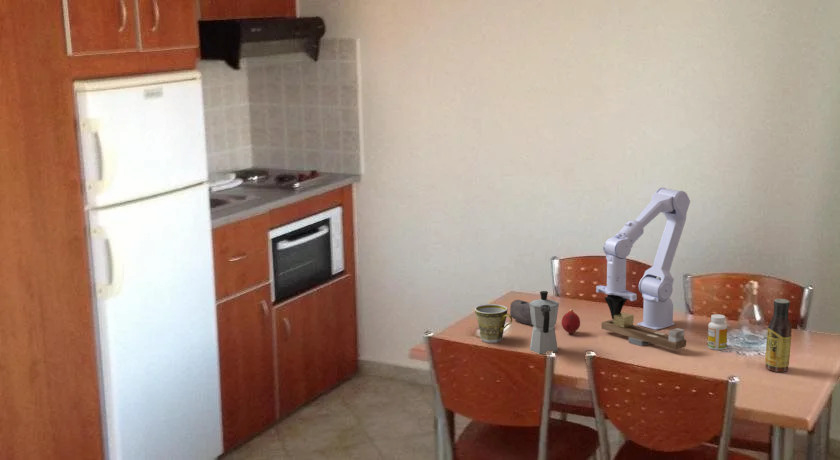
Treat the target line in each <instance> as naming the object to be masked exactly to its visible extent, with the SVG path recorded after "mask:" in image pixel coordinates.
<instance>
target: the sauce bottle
mask: <svg viewBox="0 0 840 460" xmlns="http://www.w3.org/2000/svg"><path fill="white" fill-rule="evenodd" d="M790 304H791V303H790V300H788V299H787V298H775V299H774V300H773V306H774V307H773V314H772V316H771V319H770V322H769V324H768V326H767V331H766V332H767V333H766V345H765V357H764V359H765V360H764V364H765V369H766V370H769V371H771V372H773V373H776V372H777V373H784V372H786V371H788V370H789V366H790V359H791V358H790V357H791V354H790V353H791V346H792V345H791V344H792V327H793V326H792V322H791V321H790V320H789V308H790V306H791V305H790Z"/></svg>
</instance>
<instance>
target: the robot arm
mask: <svg viewBox="0 0 840 460" xmlns="http://www.w3.org/2000/svg"><path fill="white" fill-rule="evenodd" d="M690 203H691V200H690V198H689V195H688V193H687V192H686V191H684V190H676V189H670V188H666V187H659V188H657V190H655V192H654V193H653V194H652V195H651V200H650V202H648V204H647V205H646V207H645V208H644V209H643V210H642V211H641V213H639V215H638V216H637V218H635V220H629V221H626V222H625V223H624V226H623V227H622V228H621V229H620V230H619V231H618V232H617V233H616V234H615V235H614V236H612V237H609V238H608V239H606V240H605V242H604V246H602V250H603V252H604V254H605V259H606V285H601V284H599V285H596V287H595V289H596V290H595V292H596V293H601V294H605V295H606V296H605V297H604V300H605V303H607V306H608V308H609V311H610V316H611V320H612V319H613V320H614V315H616V314H619V313H622V310H623V307H624V305H625V304H626V301H628V300H629V301H630V302H634V301H637V298H638V297H637V296H638V295H637V293H634V292H631V291H629V290H628V289H626V288H627V287H626V283H627V281H626V280H627V274H626V273H627V257H628V256H629V255H630V253H631V251H632V248H633V245H634V244H635V243H636V242H637V241H638V240H639V238H640V237H641V236H642V235H643V234H644V228H645V227H646V226H648V224H650V222H651V221H653V220H654V219H655V218H657V216H659V215H660V213H662V214H663V215H664V216H665V218H666V223H665V226H664V230H663V232H662V234H661V239H660V241H659V244H658V247H657V250H656V253H655V254H656V255H655V257H654V260H653V264H652V266H651V267H649V268H648V269H646V270H645V271H644V273H643V276H642V278H640V280H639V282H638V291H639V293H641V296H642V298H643V306H642V307H643V308H642V309H643V310H642V316H643V317H642V321H640V322H637V323H636V326H639V327H642V328H646V329H650V330H653V331H658V330H662V329H665V328H668V327H671V326H674V325H675V324H676V323H675V322H674V303H673V301H672V299H671V298H670V297H671V296H672V295H673V294H672V293H673V289H674V288H673V285H674V281H675V280H674V279H675V278H674V277H673V276H672V274H671V273H670V271H671V268H672V264H673V261H674V257H675V255H676V252H677V248H678V246H679V243H680V240H681V236H682V233H683V230H684V227H685V224H686V221H687V215H688V214H687V212H688V210H689V206H690ZM659 278H660V279H659Z"/></svg>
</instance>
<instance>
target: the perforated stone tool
mask: <svg viewBox="0 0 840 460" xmlns="http://www.w3.org/2000/svg"><path fill="white" fill-rule="evenodd" d="M529 303H530V302H528V301H525V300H521V299H515V300H513V301H512V302H511V303H510V308H509V311H510V312H509V315H511V316H512V320H515V321H517V322H519V323H520V324H521V323H522V324H525V325H528V326H532V327H534V325H533V324H532V321H531V314H530V307H529Z"/></svg>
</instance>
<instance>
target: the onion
mask: <svg viewBox="0 0 840 460" xmlns="http://www.w3.org/2000/svg"><path fill="white" fill-rule="evenodd" d="M568 310H569V311H568V312H566V313H565V314H564V315H563V316H562V318H561V327H562V329H563V330H564V331H565V332H566V333H568V334H569V335H573V334H574V333H575V332H577V331H578V330H579V328H580V327H581V319H580V317H579V315H578V314H577V313H575V312H574V310H573V309H572V308H571V309H568Z"/></svg>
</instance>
